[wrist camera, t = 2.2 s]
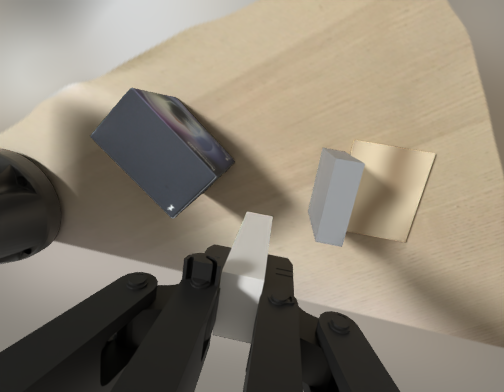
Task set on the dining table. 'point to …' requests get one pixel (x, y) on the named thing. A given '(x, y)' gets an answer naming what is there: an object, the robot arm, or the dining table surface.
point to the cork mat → (388, 189)
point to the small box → (162, 148)
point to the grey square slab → (334, 195)
